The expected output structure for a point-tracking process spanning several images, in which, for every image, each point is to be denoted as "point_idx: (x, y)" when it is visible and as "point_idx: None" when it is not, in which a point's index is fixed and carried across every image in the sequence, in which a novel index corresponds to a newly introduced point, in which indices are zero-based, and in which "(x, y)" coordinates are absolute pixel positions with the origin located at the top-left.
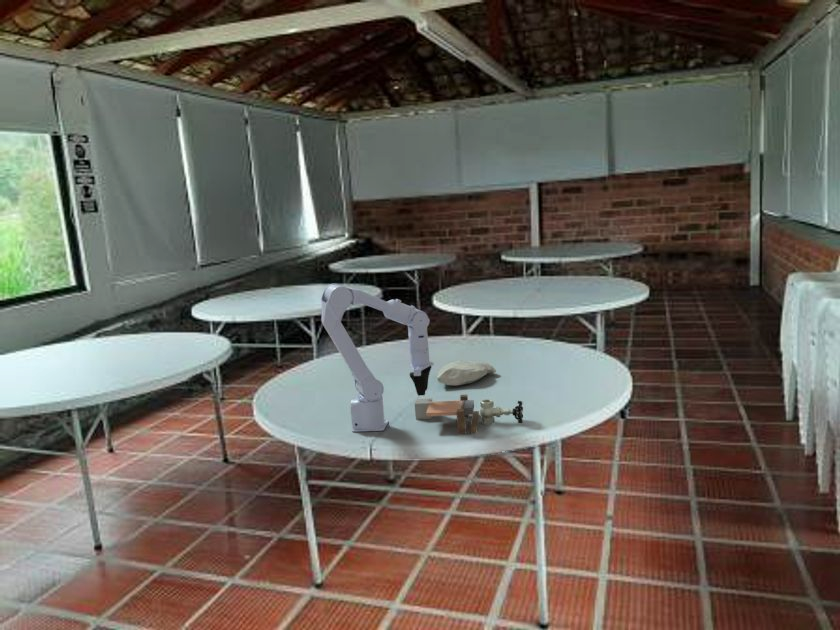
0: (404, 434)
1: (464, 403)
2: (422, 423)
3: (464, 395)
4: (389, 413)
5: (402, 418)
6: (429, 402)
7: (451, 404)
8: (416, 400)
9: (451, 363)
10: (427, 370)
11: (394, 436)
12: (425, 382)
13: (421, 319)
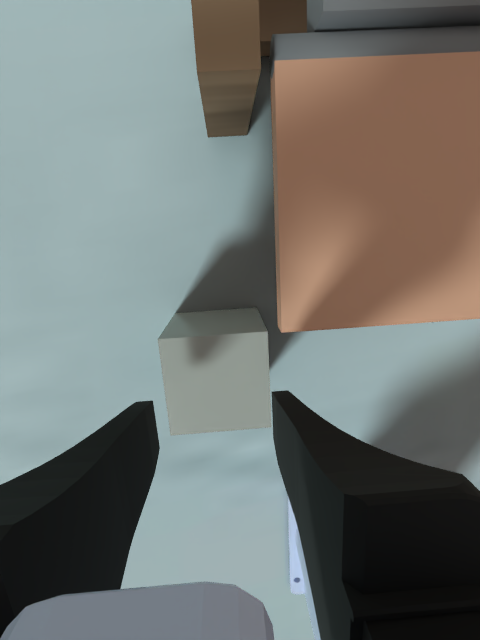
0: (447, 388)
1: (347, 32)
2: (319, 339)
3: (221, 24)
4: (177, 509)
5: (245, 442)
6: (251, 340)
7: (366, 152)
8: (205, 430)
9: None
10: (47, 550)
11: (462, 422)
12: (365, 443)
13: None
